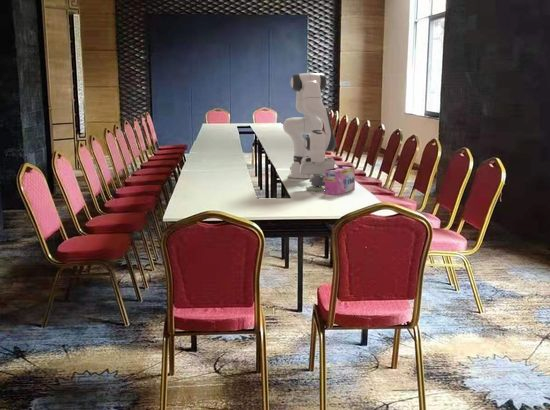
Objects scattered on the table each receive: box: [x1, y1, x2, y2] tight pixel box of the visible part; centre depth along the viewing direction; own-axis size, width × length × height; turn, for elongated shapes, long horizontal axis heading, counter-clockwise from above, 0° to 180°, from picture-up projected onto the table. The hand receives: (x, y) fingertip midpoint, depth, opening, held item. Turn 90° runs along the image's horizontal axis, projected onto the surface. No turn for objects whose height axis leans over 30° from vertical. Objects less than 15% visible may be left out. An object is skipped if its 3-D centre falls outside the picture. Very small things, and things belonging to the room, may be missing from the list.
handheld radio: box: [308, 174, 325, 186], centre depth 367 cm, size 7×3×25 cm
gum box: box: [323, 165, 356, 196], centre depth 341 cm, size 24×8×14 cm, turn 146°
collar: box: [310, 176, 323, 186], centre depth 350 cm, size 6×6×5 cm
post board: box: [306, 185, 325, 192], centre depth 348 cm, size 8×16×6 cm, turn 95°
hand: (317, 181), depth 350 cm, fingers closed on collar, 6 cm apart
